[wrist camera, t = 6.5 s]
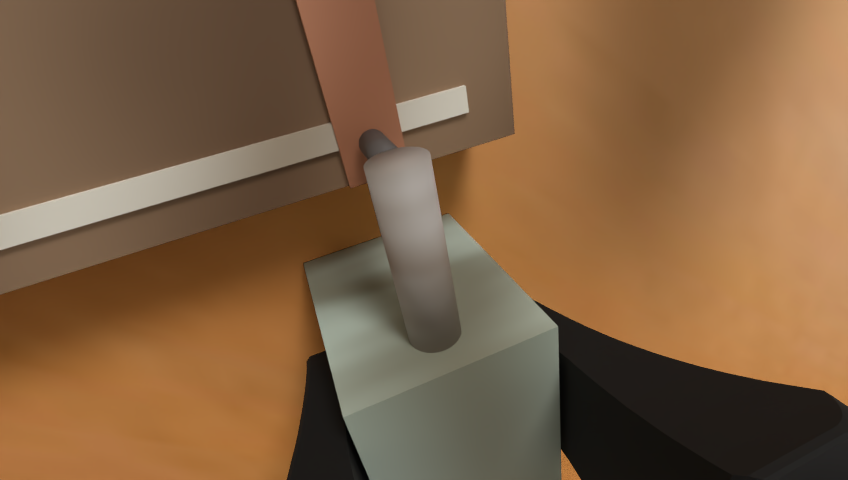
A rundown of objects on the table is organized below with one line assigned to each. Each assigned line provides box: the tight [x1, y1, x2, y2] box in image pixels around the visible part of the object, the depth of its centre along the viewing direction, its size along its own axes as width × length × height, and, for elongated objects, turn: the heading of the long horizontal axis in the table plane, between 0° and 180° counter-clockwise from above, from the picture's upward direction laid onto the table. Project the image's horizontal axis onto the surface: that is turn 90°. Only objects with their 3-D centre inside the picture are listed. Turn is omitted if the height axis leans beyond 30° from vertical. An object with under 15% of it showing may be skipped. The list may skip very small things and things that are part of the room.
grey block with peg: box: [303, 129, 561, 480], centre depth 10 cm, size 4×9×5 cm, turn 11°
